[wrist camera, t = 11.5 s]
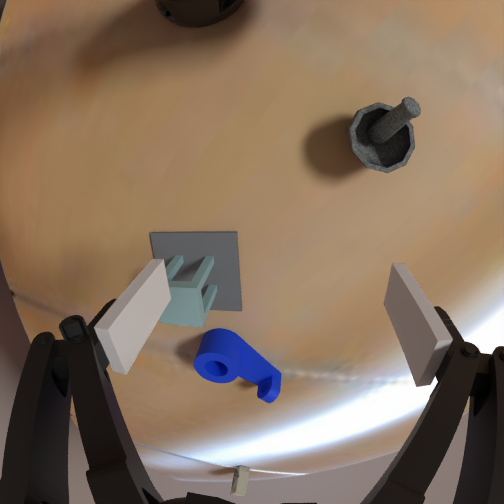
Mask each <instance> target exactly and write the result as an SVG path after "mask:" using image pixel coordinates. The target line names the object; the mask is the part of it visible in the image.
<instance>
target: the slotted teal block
mask: <svg viewBox="0 0 504 504" xmlns="http://www.w3.org/2000/svg"><path fill="white" fill-rule="evenodd" d="M183 263H184V262H183V256H181V255H175V257H174V258H173V259H172V260H171V262H170V263H169V264H168V266H167V267H166V268H165V269H166V275H167V280H168V285H169V290H170V295H171V300H170V302H169V303H168V305H167V306H166V308H165V310H164V311H163V313H162V315H161V316H160V321H161V323H163V324H173V325H183V326H194V327H203V325H204V323H205V320H206V318H207V315H208V313H209V310H210V308H211V305H212V303H213V300H214V298H215V295H216V293H217V285H214V284H209V286H208V288H207V290H206V292H205V294H204V297H203V299H202V294H201V289H202V287H203V285H204V283H205V281H206V279H207V277H208V275H209V273H210V271H211V269H212V267H213V265H214V256H206V257H205V258H204V260H203V262H202V263H201V265H200V267H199V269H198V270H197V272H196V274H195V276H194V277H193V279H192V281H191V282H186V281H171V280H172V279H173V277H174V276H175V274H176V273H177V271H178V270H179V268H180V267H181V266H182V264H183Z"/></svg>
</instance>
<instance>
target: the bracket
mask: <svg viewBox="0 0 504 504" xmlns="http://www.w3.org/2000/svg"><path fill="white" fill-rule="evenodd" d="M194 367H195V370H196V371H197V373H198V374H199V375H200V376H202V377H203V378H205V379H207V380H209V381H212V382H216V383H228V382H231V381H233V380H235V379H236V378H237V377H238V376H239V377H241V378H243V379H246V380H248V381H250V382H252V383H254V384H256V385H258V391H257V396H258V398H260V399H262V400H264V401H265V402H267V403H271V402H273V401H274V400H275V399H276V398H277V397H278V395H279V393H280V386H281V373H280V372H279V371H278V370H277V369H276V368H275V367H273V366H272V365H271V364H270V363H269V362H268V361H266V360H265V359H264V358H263V357H262V356H261V355H260V354H258V353H257V352H256V351H255V350H254V349H253V348H252V347H251V346H249V345H248V344H247V343H246V342H245V341H244V340H243V339H242V338H241V337H239V336H238V335H237V334H236V333H234V332H232V331H230V330H227V329H222V328H217V329H212V330H210V331H208V332H207V333H206V334H205V335H204V337H203V339H202V342H201V345H200V347H199V350H198V353H197V356H196V358H195V361H194Z"/></svg>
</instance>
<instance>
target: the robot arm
mask: <svg viewBox="0 0 504 504" xmlns="http://www.w3.org/2000/svg"><path fill="white" fill-rule="evenodd" d="M243 1H244V0H155V3H156V6H157V8H158V10H159V11H160V13H161V14H162V15H163V16H164V17H165V18H167V19H168V20H169V21H171V22H172V23H174V24H177V25H180V26H184V27H203V26H208V25H211V24H214V23H217V22H219V21H221V20H223V19H225V18H227V17H228V16H230V15H231V14H233V13H234V12H235V11H236V10H237V9H238V8H239V7H240V6H241V4H242V3H243ZM170 300H171V295H170V290H169V285H168V280H167V275H166V269H165V264H164V259H152V260H151V261H150V262H149V263H148V264H147V265H146V266H145V268H144V269H143V270H142V271H141V272H140V273H139V274H138V275H137V277H136V278H135V279H134V280H133V281H132V282H131V283H130V285H129V286H128V287H127V288H126V289H125V290H124V292H123V293H122V294H121V295H120V296H119V297H118V299H113V300H111V301H110V302H108V303H106V304H105V306H104V307H103V308H102V309H101V311H99V313H98V314H97V315H96V316H95V317H94V319H93V320H92V321H91V322H90V323H89V325H88V326H86V323H85V321H84V319H83V317H82V316H80V315H73V316H69V317H67V318H65V319H64V320H63V321H62V322H61V323H60V325H59V329H60V331H61V333H62V336H63V338H64V340H56V339H55V337H54V335H53V334H52V333H51V332H43V333H40V334H38V335H37V336H36V337H35V338H34V339H33V341H32V344H31V346H30V349H29V352H28V355H27V358H26V361H25V365H24V368H23V371H22V374H21V378H20V381H19V385H18V388H17V392H16V396H15V400H14V404H13V408H12V413H11V417H10V422H9V427H8V432H7V438H6V444H5V451H4V459H3V467H2V477H1V480H0V504H69V489H68V437H69V420H70V408H71V397H73V403H74V408H75V413H76V418H77V422H78V427H79V431H80V435H81V439H82V443H83V447H84V450H85V454H86V457H87V460H88V464H89V470H88V471H86V476H87V481H88V484H89V487H90V490H91V492H92V495H93V498H94V501H95V503H96V504H235V503H232V502H229V501H226V500H223V499H221V498H218V497H212V496H206V495H201V494H195V493H190V492H188V493H187V496H186V497H184V498H175V499H170V500H166V501H164V500H163V499H162V497H161V496H160V494H159V493H158V492H157V490H156V489H155V487H154V486H153V484H152V482H151V480H150V478H149V476H148V474H147V472H146V470H145V468H144V466H143V464H142V461H141V459H140V457H139V455H138V453H137V450H136V448H135V446H134V443H133V441H132V439H131V436H130V434H129V431H128V429H127V426H126V424H125V421H124V419H123V416H122V413H121V410H120V408H119V405H118V402H117V399H116V396H115V393H114V390H113V387H112V384H111V381H110V378H109V374H108V372H107V370H106V368H107V366H108V365H109V363H110V366H111V368H112V370H113V372H117V373H121V374H126V375H127V373H128V371H129V370H130V368H131V366H132V364H133V363H134V361H135V359H136V357H137V356H138V354H139V352H140V350H141V349H142V347H143V345H144V343H145V342H146V340H147V338H148V337H149V335H150V333H151V332H152V330H153V328H154V326H155V325H156V323H157V321H158V320H159V318H160V316H161V315H162V313H163V311H164V310H165V308H166V306H167V305H168V303H169V302H170ZM384 306H385V308H386V310H387V313H388V315H389V317H390V320H391V322H392V324H393V327H394V329H395V332H396V334H397V337H398V339H399V341H400V344H401V347H402V349H403V352H404V354H405V357H406V359H407V362H408V365H409V367H410V370H411V373H412V376H413V379H414V381H415V384H416V387H418V386H425V385H431V383H432V381H433V379H434V377H435V376H436V378H437V381H438V383H437V385H436V386H435V388H434V390H433V392H432V393H431V395H430V399H429V401H428V403H427V405H426V406H425V408H424V410H423V412H422V414H421V416H420V418H419V419H418V421H417V423H416V425H415V426H414V428H413V430H412V432H411V433H410V435H409V437H408V438H407V440H406V441H405V443H404V445H403V446H402V448H401V449H400V451H399V453H398V454H397V456H396V457H395V458H394V460H393V461H392V463H391V464H390V466H389V467H388V469H387V470H386V471H385V473H384V474H383V476H382V477H381V478H380V480H379V481H378V482H377V484H376V485H375V486H374V487H373V489H372V490H371V491H370V493H369V494H368V495H367V496H366V497H365V499H364V500H363V501H362V502H361V503H360V504H423V503H424V500H425V496H424V494H425V492H426V490H427V488H428V486H429V485H430V483H431V481H432V479H433V478H434V476H435V474H436V472H437V470H438V468H439V466H440V464H441V462H442V460H443V458H444V456H445V454H446V452H447V450H448V448H449V446H450V443H451V441H452V439H453V437H454V434H455V432H456V430H457V427H458V425H459V422H460V420H461V417H462V414H463V412H464V409H465V406H466V403H467V401H468V398H469V396H470V405H469V418H468V428H467V436H466V444H465V450H464V457H463V463H462V468H461V472H460V477H459V481H458V486H457V490H456V494H455V498H454V501H453V504H504V346H499V347H496V348H495V350H494V351H493V353H492V354H483V353H480V351H479V349H478V348H477V347H476V346H475V345H474V344H472V343H469V342H465V341H464V340H463V338H462V336H461V335H460V333H459V332H458V330H457V328H456V327H455V325H454V324H453V322H452V320H450V317H449V316H448V314H447V313H446V312H445V311H444V310H443V309H442V308H440V307H439V306H437V307H433V306H432V304H431V302H430V301H429V299H428V298H427V296H426V295H425V293H424V292H423V290H422V289H421V287H420V286H419V284H418V283H417V281H416V280H415V278H414V277H413V275H412V274H411V273H410V271H409V270H408V268H407V267H406V266H405V264H404V263H392V267H391V272H390V277H389V282H388V287H387V291H386V296H385V300H384ZM282 504H317V503H282Z"/></svg>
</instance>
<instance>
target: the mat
mask: <svg viewBox="0 0 504 504" xmlns="http://www.w3.org/2000/svg"><path fill="white" fill-rule="evenodd" d="M150 236H151V242H152V247H153V253H154V258H155V259H164V264H165V268H166V267H167V266H168V264H169V263H170V262H171V260H172V259H173V258H174V257H175V255H181V256H183V262H184V263H183V264H182V266H181V267H180V268H179V270H178V271H177V273H176V274H175V276H174V277H173V279H172V280H171V281H186V282H191V281H192V279H193V277H194V276H195V274H196V272H197V270H198V269H199V267H200V265H201V263H202V262H203V260H204V258H205V257H206V256H214V265H213V267H212V269H211V271H210V273H209V275H208V277H207V279H206V281H205V283H204V285H203V287H202V289H201V294H202V299H203V297H204V294H205V292H206V290H207V288H208V286H209V284H214V285H217V293H216V295H215V298H214V300H213V303H212V305H211V308H210V310H226V311H242V300H241V285H240V270H239V254H238V238H237V232H151V233H150Z"/></svg>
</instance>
